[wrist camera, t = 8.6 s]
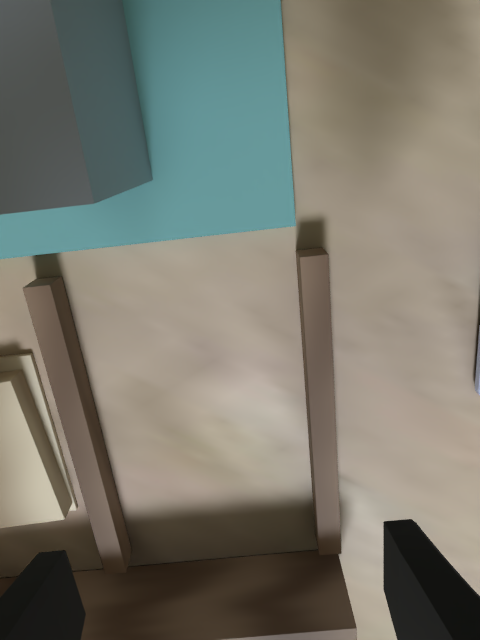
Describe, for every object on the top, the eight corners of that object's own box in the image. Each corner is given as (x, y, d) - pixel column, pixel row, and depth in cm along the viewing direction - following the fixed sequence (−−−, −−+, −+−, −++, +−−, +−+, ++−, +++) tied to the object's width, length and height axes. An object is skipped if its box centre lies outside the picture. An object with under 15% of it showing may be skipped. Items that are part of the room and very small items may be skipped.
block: (103, -111, 13) (-30, -365, 7) (152, 180, 16) (94, 203, 9) (21, -99, 13) (-191, -340, 7) (84, 188, 16) (-21, 217, 9)
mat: (264, -210, 13) (265, -223, 12) (294, 223, 17) (295, 225, 17) (-153, -150, 13) (-168, -161, 13) (-23, 259, 17) (-30, 262, 17)
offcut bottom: (40, 345, 20) (30, 355, 19) (83, 495, 22) (76, 510, 21) (-76, 357, 20) (-91, 368, 19) (-18, 504, 23) (-29, 520, 22)
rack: (322, 247, 17) (346, 275, 14) (337, 563, 23) (357, 644, 19) (-165, 301, 18) (-271, 342, 14) (-35, 596, 24) (-86, 681, 20)
